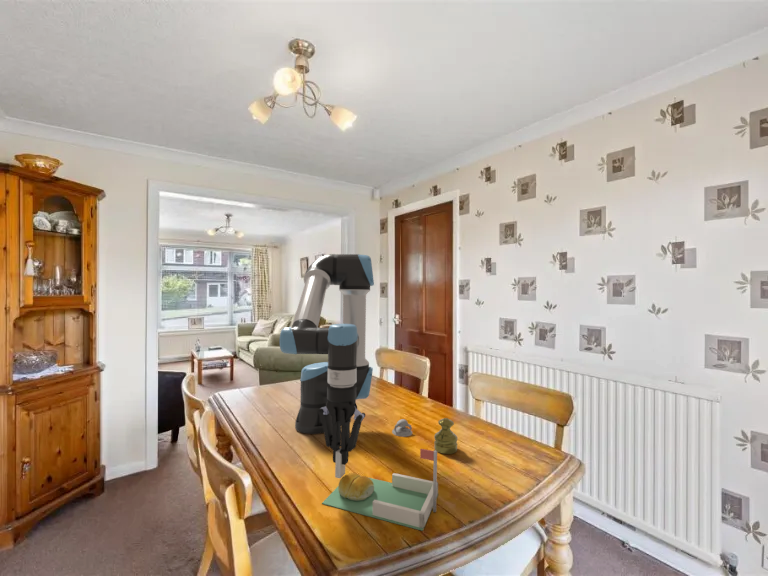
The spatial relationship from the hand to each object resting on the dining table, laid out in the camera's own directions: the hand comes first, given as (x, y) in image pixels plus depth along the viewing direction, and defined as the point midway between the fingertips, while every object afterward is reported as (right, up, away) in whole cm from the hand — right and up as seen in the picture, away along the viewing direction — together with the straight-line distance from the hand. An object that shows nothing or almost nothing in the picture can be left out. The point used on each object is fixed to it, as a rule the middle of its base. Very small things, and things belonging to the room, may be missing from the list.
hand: (340, 475), depth 93 cm
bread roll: (+4, -4, -2) cm, 6 cm away
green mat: (+11, -4, -4) cm, 12 cm away
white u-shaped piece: (+17, -4, -7) cm, 19 cm away
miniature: (+18, -4, +38) cm, 42 cm away
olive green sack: (+31, -4, +24) cm, 40 cm away
